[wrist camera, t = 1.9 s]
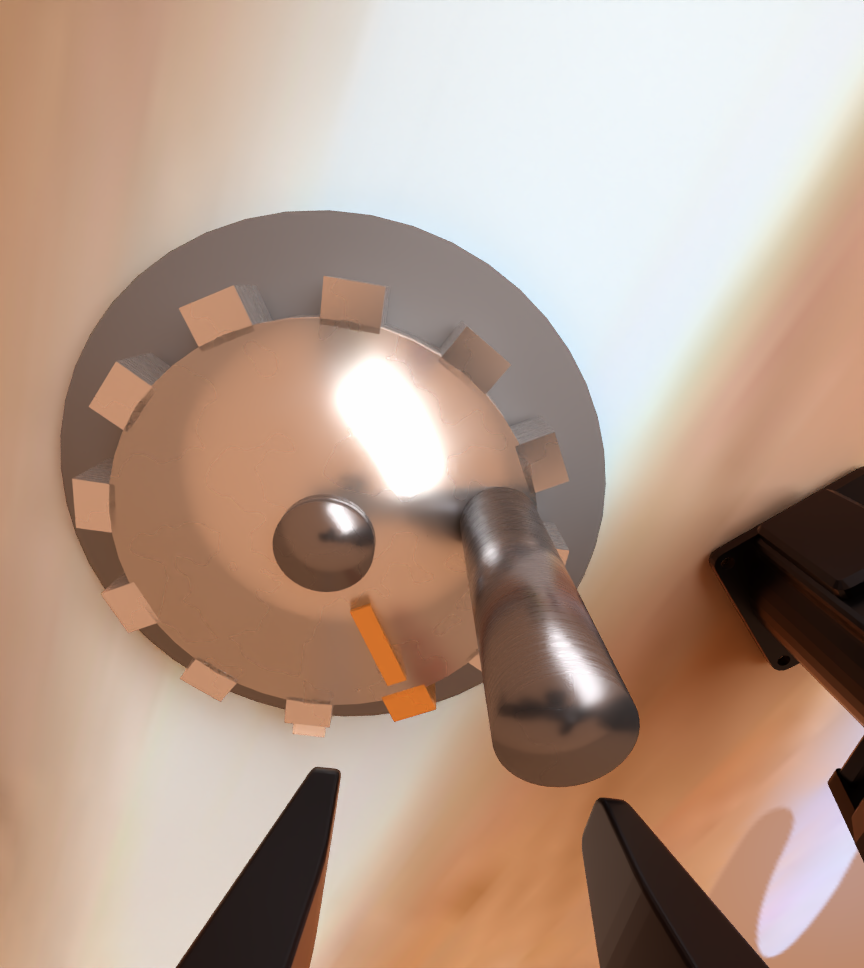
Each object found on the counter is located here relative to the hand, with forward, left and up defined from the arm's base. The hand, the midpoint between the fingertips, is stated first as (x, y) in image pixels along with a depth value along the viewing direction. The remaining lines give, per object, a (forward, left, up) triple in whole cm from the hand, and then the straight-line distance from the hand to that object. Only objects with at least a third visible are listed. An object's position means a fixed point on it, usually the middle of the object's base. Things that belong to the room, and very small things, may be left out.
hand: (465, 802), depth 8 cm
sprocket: (+2, +3, -11) cm, 11 cm away
